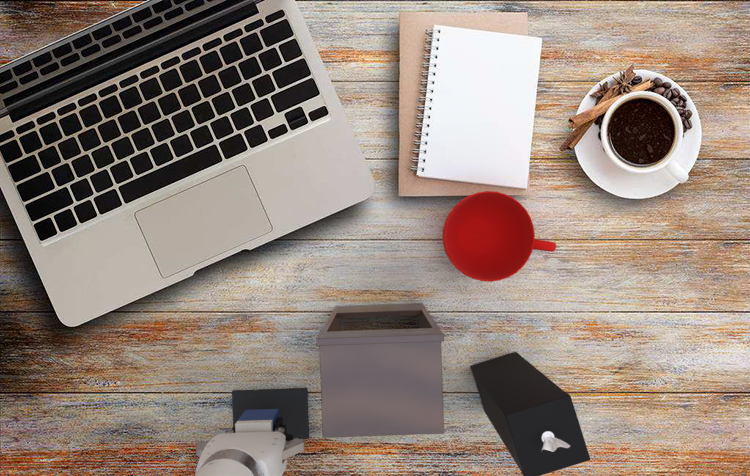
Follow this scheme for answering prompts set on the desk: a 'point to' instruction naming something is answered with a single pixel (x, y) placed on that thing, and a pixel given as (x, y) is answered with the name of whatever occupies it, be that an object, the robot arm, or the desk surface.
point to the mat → (276, 407)
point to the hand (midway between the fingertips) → (261, 428)
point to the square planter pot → (381, 375)
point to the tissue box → (530, 415)
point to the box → (257, 421)
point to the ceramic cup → (490, 236)
